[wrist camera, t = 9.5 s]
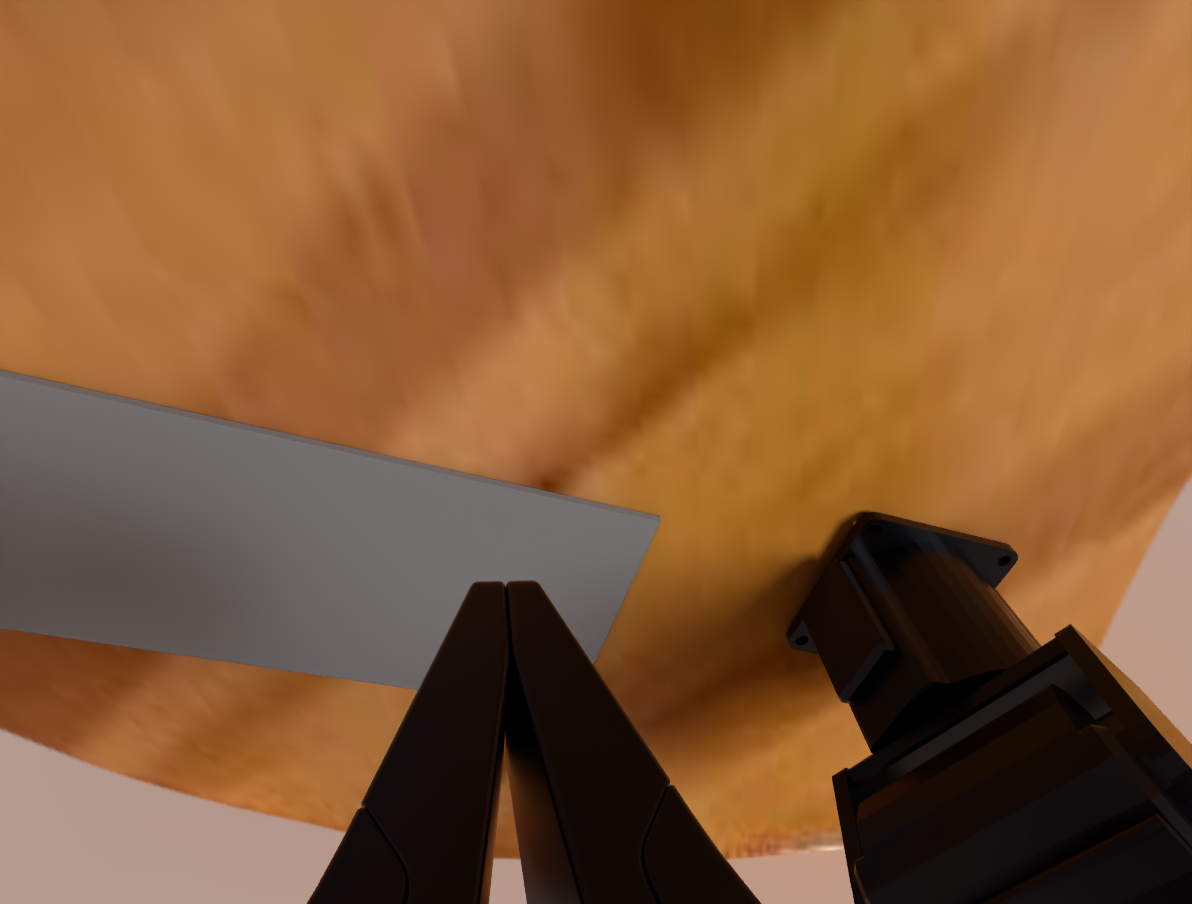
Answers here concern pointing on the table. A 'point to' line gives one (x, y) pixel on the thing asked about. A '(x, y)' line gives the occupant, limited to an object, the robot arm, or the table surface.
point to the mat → (273, 540)
